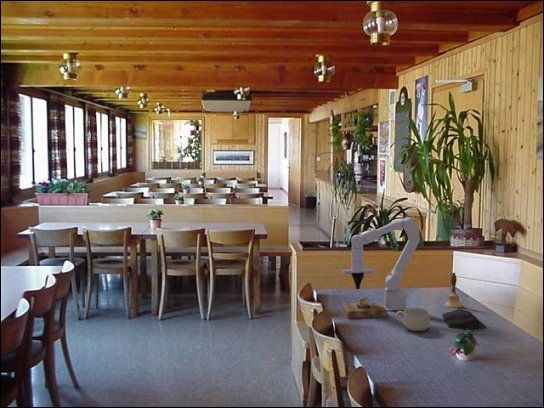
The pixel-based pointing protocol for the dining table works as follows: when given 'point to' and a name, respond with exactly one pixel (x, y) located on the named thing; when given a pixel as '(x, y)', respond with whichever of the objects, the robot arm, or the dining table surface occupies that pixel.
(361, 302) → the peg
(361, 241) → the robot arm
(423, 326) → the teacup
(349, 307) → the board
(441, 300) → the dining table surface
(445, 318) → the dark slate chunk
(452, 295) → the hand bell
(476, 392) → the dining table surface
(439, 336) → the dining table surface
